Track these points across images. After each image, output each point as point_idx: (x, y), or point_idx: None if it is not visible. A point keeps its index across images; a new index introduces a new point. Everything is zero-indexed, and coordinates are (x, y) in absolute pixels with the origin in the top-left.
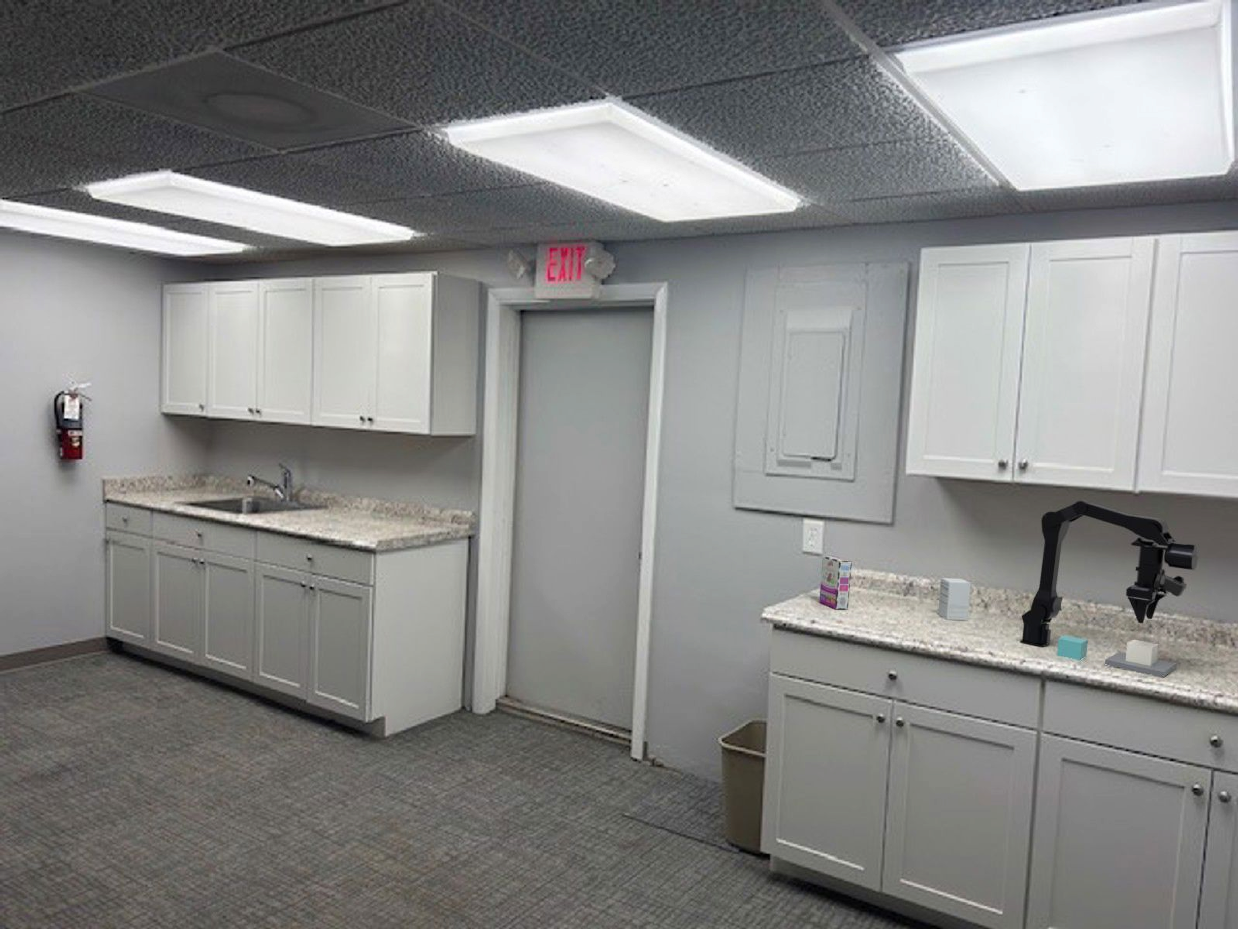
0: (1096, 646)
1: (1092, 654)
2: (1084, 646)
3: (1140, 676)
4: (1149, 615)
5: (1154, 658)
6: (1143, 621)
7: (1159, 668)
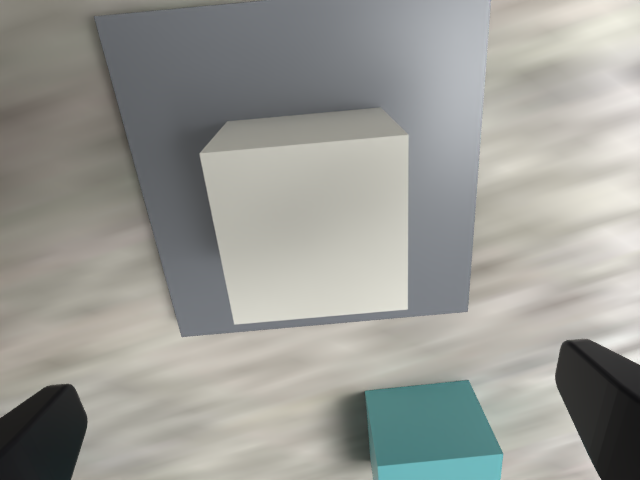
0: (84, 441)
1: (277, 396)
2: (429, 436)
3: (561, 94)
4: (56, 447)
5: (287, 123)
6: (597, 352)
7: (399, 42)
